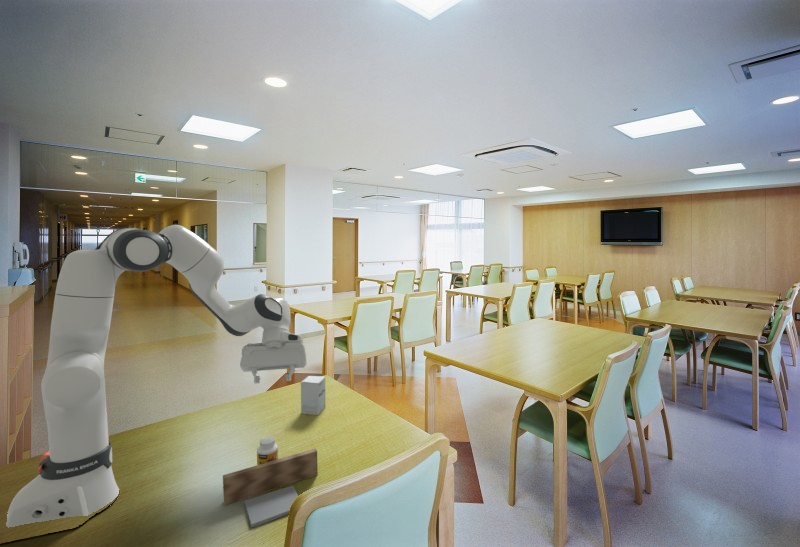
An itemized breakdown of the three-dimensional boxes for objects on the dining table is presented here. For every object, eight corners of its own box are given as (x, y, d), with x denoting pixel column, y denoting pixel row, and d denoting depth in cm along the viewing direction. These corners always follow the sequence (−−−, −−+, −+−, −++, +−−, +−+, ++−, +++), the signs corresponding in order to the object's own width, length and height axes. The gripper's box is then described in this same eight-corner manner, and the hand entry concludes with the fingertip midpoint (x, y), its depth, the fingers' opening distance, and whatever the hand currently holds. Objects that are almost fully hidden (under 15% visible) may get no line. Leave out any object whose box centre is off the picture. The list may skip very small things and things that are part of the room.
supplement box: (318, 415, 141) (318, 383, 140) (300, 413, 143) (299, 381, 142) (326, 407, 149) (325, 376, 148) (309, 405, 150) (308, 375, 149)
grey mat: (251, 527, 86) (251, 524, 85) (245, 504, 93) (245, 501, 93) (303, 508, 92) (302, 505, 92) (293, 488, 99) (293, 485, 99)
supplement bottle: (256, 482, 102) (255, 446, 101) (259, 470, 107) (258, 436, 106) (277, 479, 103) (276, 443, 102) (279, 467, 108) (278, 433, 108)
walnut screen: (224, 505, 93) (223, 478, 92) (223, 501, 94) (222, 475, 94) (317, 474, 105) (317, 450, 105) (315, 471, 106) (315, 448, 106)
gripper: (240, 339, 120) (235, 379, 111) (306, 335, 124) (305, 374, 115) (244, 348, 125) (239, 388, 116) (307, 345, 129) (306, 383, 120)
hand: (272, 381), depth 116 cm, fingers open, 8 cm apart
